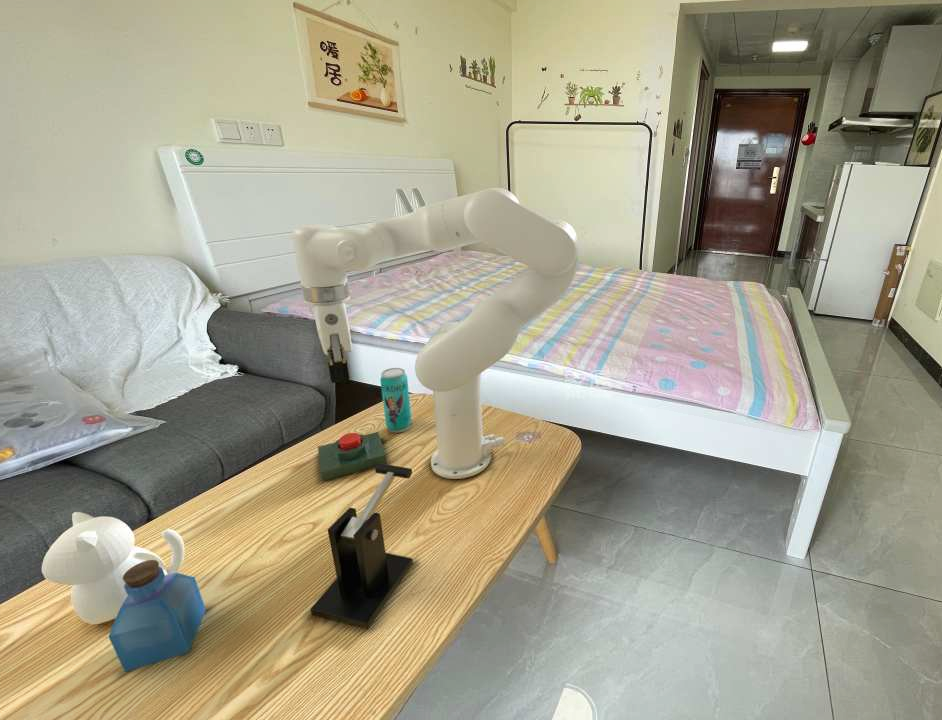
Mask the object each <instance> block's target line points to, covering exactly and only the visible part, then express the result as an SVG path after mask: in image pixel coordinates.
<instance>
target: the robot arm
mask: <svg viewBox="0 0 942 720" xmlns="http://www.w3.org/2000/svg"><path fill="white" fill-rule="evenodd" d="M578 239H579V238H578V236H577V233H576V231H575V230H574V227H572V225H571V224H569V223H568V222H567V221H564V220H562V219H558V218H554V219H547V218H546V217H544V216H542V215H540V214H538V213H536V212H535V211H532V210H530V209H529V208H527V207H525V206H524V205H522V204H520V201H519V200H518V199H517V197H516V196H515V194H513V193H512V192H511V191H510V190H508V189H506V188H503V187H491V188H486V189H481V190H479V191H475V192H471V193H467V194H464V195H460V196H456V197H453V198H452V197H451V198H449V199H445V200H439V201H437V202H433V203H428V204H425V205H423V206H421V207H419V208H418V209H416V210H414V211H412V212H411V211H410V212H408V213H404V214H401V215H400V214H399V215H397V216H393V217H389V218H385V219H380V220H378V221H373V222H368V223H364V224H359V225H354V226H351V227H347V228H340V229H338V228H337V226H334V225H330V224H305V225H303V224H302V225H299V226H296V227H295V228H294V229H293V230H292V241H293V247H294V252H295V259H296V264H297V269H298V275H299V276H298V277H299V281H300V287H301V293H302V297H303V298H302V299H303V302H304V304H306V305H308V306H309V305H310V306H312V310H313V317H314V321H315V325H316V331H317V334H318V338H319V341H320V345H321V348H322V351H323V354H324V355H326V356H327V358H328V362H327V365H328V371H329V372H328V373H329V376H330V383H331V384H337V383H341V382H347V381H349V380H350V373H349V367H348V360H347V359H346V354H345V352H349V353H351V352H352V351H353V350H354V348H353V343H352V337H351V328H350V324H349V323H350V322H349V317H348V312H347V307H346V302H347V301H349V300H350V299H351V296H350V295H351V294H350V288H349V281H348V275H347V271H351V272H361V271H366V270H368V269H371V268H372V267H375V266H377V265H378V264H380V263H382V262H385V261H387V260H391V259H394V258H399V257H402V256H405V255H410V254H413V253H414V254H415V253H419V252H423V251H435V252H438V253H440V252H446V251H450V250H453V249H459V248H461V247H465V246H469V245H473V244H479V243H484V244H485V245H486V246H489V247H491V248H492V249H494V250H496V251H497V252H499V253H500V254H503V255H505V256H507V257H509V258H511V259H513V260H514V261H516V262H518V263H520V264H522V265H524V266H526V267H527V268H526V269H525V270H524V271H522V272H521V273H520V274H519V275H517V276H516V277H515V278H514V279H513V280H511V281H510V282H508V283H506V284H505V285H504V286H502V287H501V288H499V289H498V290H497V291H495V292H493V293H492V294H490V295H488V296H486V297H485V298H484V299H482V300H481V301H479V302H478V303H477V304H476V305H475V306H474V308H473V309H472V310H471V311H470V313H469V314H468V315H467V316H466V317H465V318H464V319H462V320H461V321H451V322H448V323H446V324H444V325H442V326H440V327H439V328H438V329H437V330H436V331H435V332H434V334H433V335H432V336H431V337H430V338H429V339H428V341H426V343H425V344H424V345H423V346H422V348H421V349H420V351H419V352H418V353H417V356H416V359H415V362H414V371H415V375H416V378H417V380H418V382H419V383H420V384H421V385H422V386H423V387H425V388H426V389H428V390H430V391H432V393H433V394H432V395H433V410H434V423H435V435H436V446H437V449H436V450H435V451H434V453H433V454H432V456H431V458H430V467H431V469H432V471H433V472H434V473H435V474H436V475H437V476H439V477H441V478H444V479H448V480H449V479H451V480H459V479H460V480H461V479H466V478H470V477H473V476H475V475H476V476H477V474H479V473H481V472H483V471H484V470H485V469H486V468H487V467H488V466H489V464H490V463H491V460H492V454H491V451H492V449H494V448H498V447H502V446H505V445H506V443H505V442H506V441H505V438H504V437H503V436H499V437H496V436H495V434H494V433H492V434H488V435H484V434H483V432H484V431H483V408H482V373H483V372H485V371H486V370H487V369H489V368H491V367H493V366H494V365H495V364H496V363H498V362H500V361H501V360H502V359H504V357H506V355H508V354H509V353H510V351H512V349H513V348H514V346H515V344H516V342H517V339H518V337H519V334H520V332H521V331H522V330H523V328H524V327H527V325H529V324H530V323H531V322H533V321H534V320H535V319H537V318H539V317H540V316H541V315H542V314H543V313H545V312H547V310H549V309H550V308H551V307H553V306H554V305H555V304H556V303H557V302H558V301H560V300H561V299H562V298H563V296H564V295H565V294H566V292H567V291H568V290H569V288H570V286H571V285H572V283H573V281H574V278H575V276H576V273H577V270H578V265H579V257H580V255H579V253H580V251H579V240H578Z"/></svg>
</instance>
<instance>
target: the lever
mask: <svg viewBox="0 0 942 720" xmlns="http://www.w3.org/2000/svg"><path fill="white" fill-rule="evenodd" d="M375 473H376V474H380V475H384V477H383V478H382V480H381V482H380V483H379V485H378V487H377V488H376V489H375V491H374V493H373V494H372V496H371V497H370V499H369V501H368V502H367V503H366V506H365V507H364V509H363V510H362V512H361V513H360V515H359V516H357V517H352V518H351V520H350V521H349V523H348V524H347V526H346V527H345V529H344V530H343V532H342V533H341V537H342V538H343V539H344V541H345V542H346V543H348V544H353V545H355V541H354V534H355V533H356V532H357V531H358V530H359V528H360V527H361V526H362V525H363V524H364V523H365V522H366V521H367V520H368V519H369V517H370V516H371V515H372V514H373V513H374V512H375V511H376V510H377V507H378V506H379V504H380V503H381V501H382V500H383V498H384V496H385V494H386V493H387V491H388V490H389V488H390V486H391V485H392V483H393V481H394V480H395V478H396V477H397V478H402V479H410V478H411V476H412V475H413V469H412V468H410V467H405V466H399V465H393V464H387V463H386V464H382V463H379V464H378V465H377V466H375Z"/></svg>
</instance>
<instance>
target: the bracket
mask: <svg viewBox="0 0 942 720" xmlns="http://www.w3.org/2000/svg"><path fill="white" fill-rule="evenodd" d="M357 515H358V514H357V509H356V508H355V507H349V508H347V510H345V512H343V513H342V515H341V516H340V517H338V519H336V520H335V522H334V523H333V524H332V525H331V526H329V528H328V529H327V534H328V535H327V536H328V539H329V545H330V550H331V555H332V560H333V565H334V571H335V575H336V578H335V579H334V581H333V582H332V583H331V585H330V586H329V587H328V588H327V589H326V590H325V592H323V594H322V595H321V596H320V597H319V598H318V599H317V601H316V602H315V603H314V604H313V605H312V606H311V608H310V609H309V611H310V616H313V617H316V618H321V619H325V620H330V621H333V622H338V623H342V624H346V625H349V626H354V627H358V628H362V629H366V630H369V629H370V628H371V626H372V624H373V623H374V621H376V619H377V617H378V616H379V614H380V613H381V612H382V610H383V609H384V607H385V606H386V604H387V602H389V600H390V598H391V597H392V595H393V594H394V592H395V591H396V589H397V588H398V587H399V586H400V583H401V582H402V581H403V579H404V578H405V577H406V575H407V573H408V572H409V570H410V569H411V567H412V566H413V565H414V562H413V560H414V559H413V558H411V557H408V556H404V555H403V556H402V555H398V554H393V553H388V552H386V547H385V546H386V545H385V539H384V532H383V525H382V518H381V513H380V512H375V511H374V513H373V514H372V515H371V516H370V517H369V519H368V520H367V521H366V522H365V523H364V524H363V525H362V526H361V527H360V528H359V530H358V531H357V532H356V533H355V534H354V541H355V545H353V544H348V543H346V542H345V541H344V539H343V538H342V537H341V533H342V532H343V530H344V529H345V527H346V526H347V524H348V523H349V521H350V520H351V518H352V517H357V518H358V516H357Z"/></svg>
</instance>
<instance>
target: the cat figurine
mask: <svg viewBox="0 0 942 720" xmlns="http://www.w3.org/2000/svg"><path fill="white" fill-rule="evenodd" d="M71 521H72V526H71V527H69V528H68V529H67V530H65V531H64V532H63V533H62V534H61V535H59V536H58V537H57V539H56V540H55V541H54V542H53V543H52V544H51V546H50V547H49V549H48V550H47V552H45V555H44V557H43V560H42V563H41V573H42V575H43V577H44V579H46V580H48V581H50V582H52V583H54V584H59V585H64V586H65V585H66V586H71V591H70V601H71V605H72V608H73V610H74V613H75V614H76V615H77V617H78V618H79V619H80V621H82V622H84V623H86V624H88V625H99V624H103V623H107V622H110V621H112V620H115V619H116V617H117V614H118V612H119V610H120V608H121V606H122V605H123V603H124V601H125V600H126V598H127V596H128V595H127V593H126V591H125V588H124V585H125V581H123V576H124V574H125V573H126V572H127V571H128V570H129V569H130V568H132V567H133V566H135V565H137V564H139V563H141V562H144V561H147V560H156V561H158V563H159V567H161V568H162V569H163V572H164V574H165V575H169V574H173V573H179V571H180V570H181V567H182V566H183V563H184V559H185V544H184V540H183V538H182V536H181V535H180V534H179V533H178V532H177V531H175V530H174V529H171V528H167V529H164V530H163V531H162V533H161V536H162V538H163V539H164V541H166V543H167V544H168V546H169V548H170V549H171V559H170V563H169V566H168V567H167V566H166V563H165V561H164V560H163V559H162V558H161V557H160V556H159V555H157V554H156V553H154V552H152V551H150V550H147V548H143V547H141V546H135V542H136V541H135V534H134V532H133V530H132V529H131V528H130V526H128V524H126V523H125V522H124V521H122V520H121V519H119V518H117V517H114V516H103V515H102V516H96V517H93V516H92V515H90V514H87V513H84V512H80V511H74V512H72V514H71Z"/></svg>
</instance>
